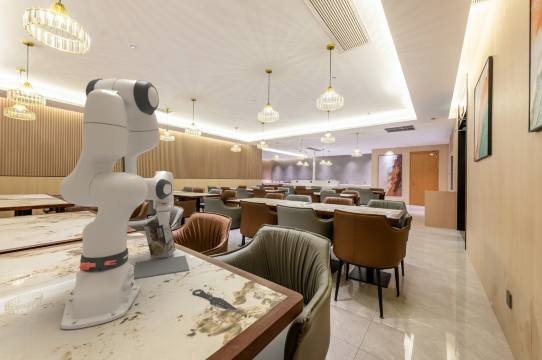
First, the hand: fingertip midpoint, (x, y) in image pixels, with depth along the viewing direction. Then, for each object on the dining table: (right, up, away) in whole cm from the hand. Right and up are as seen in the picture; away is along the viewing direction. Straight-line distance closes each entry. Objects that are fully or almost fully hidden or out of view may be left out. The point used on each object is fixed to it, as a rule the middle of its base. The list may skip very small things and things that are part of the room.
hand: (163, 233), depth 109 cm
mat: (+6, -10, -15) cm, 19 cm away
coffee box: (+1, -9, -3) cm, 10 cm away
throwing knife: (+35, -12, -39) cm, 54 cm away
